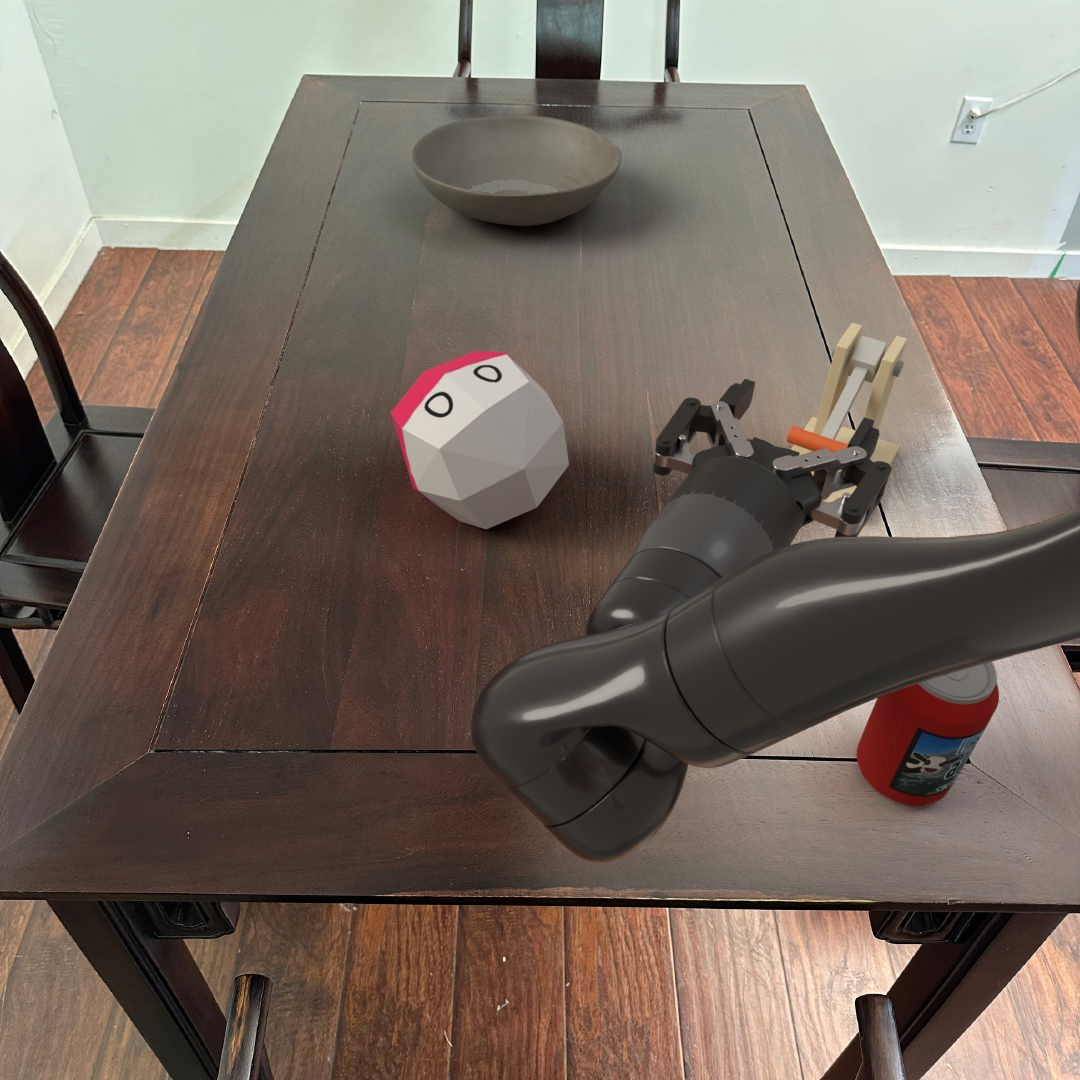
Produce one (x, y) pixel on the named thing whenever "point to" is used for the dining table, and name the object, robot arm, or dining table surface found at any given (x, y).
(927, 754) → the beverage can
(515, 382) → the decorative object
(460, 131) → the bowl
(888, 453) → the bracket
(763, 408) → the dining table surface
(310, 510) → the dining table surface
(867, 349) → the lever
